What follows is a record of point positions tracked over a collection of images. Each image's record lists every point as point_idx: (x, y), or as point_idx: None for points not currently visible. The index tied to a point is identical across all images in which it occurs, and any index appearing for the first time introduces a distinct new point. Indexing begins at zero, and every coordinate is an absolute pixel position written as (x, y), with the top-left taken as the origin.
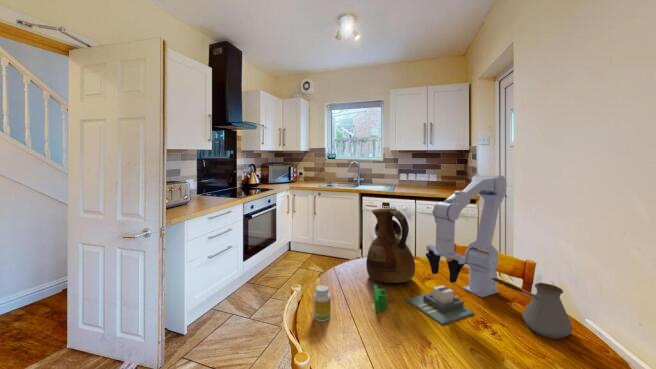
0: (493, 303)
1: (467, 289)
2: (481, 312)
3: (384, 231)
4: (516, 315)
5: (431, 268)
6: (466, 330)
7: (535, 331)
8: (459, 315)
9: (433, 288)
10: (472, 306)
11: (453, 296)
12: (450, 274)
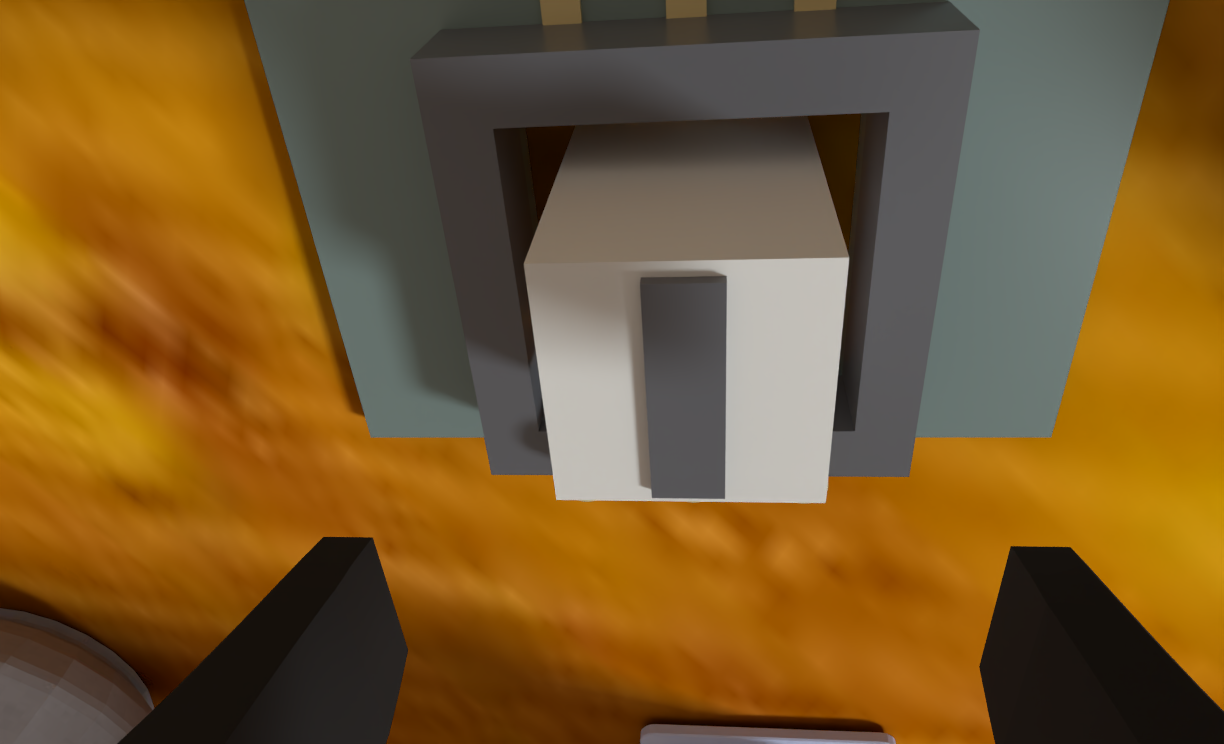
0: (513, 713)
1: (834, 740)
2: (393, 512)
3: None
4: None
5: (1166, 678)
6: (29, 36)
7: (6, 615)
8: (339, 221)
9: (831, 250)
10: (532, 531)
11: None
12: (181, 736)
